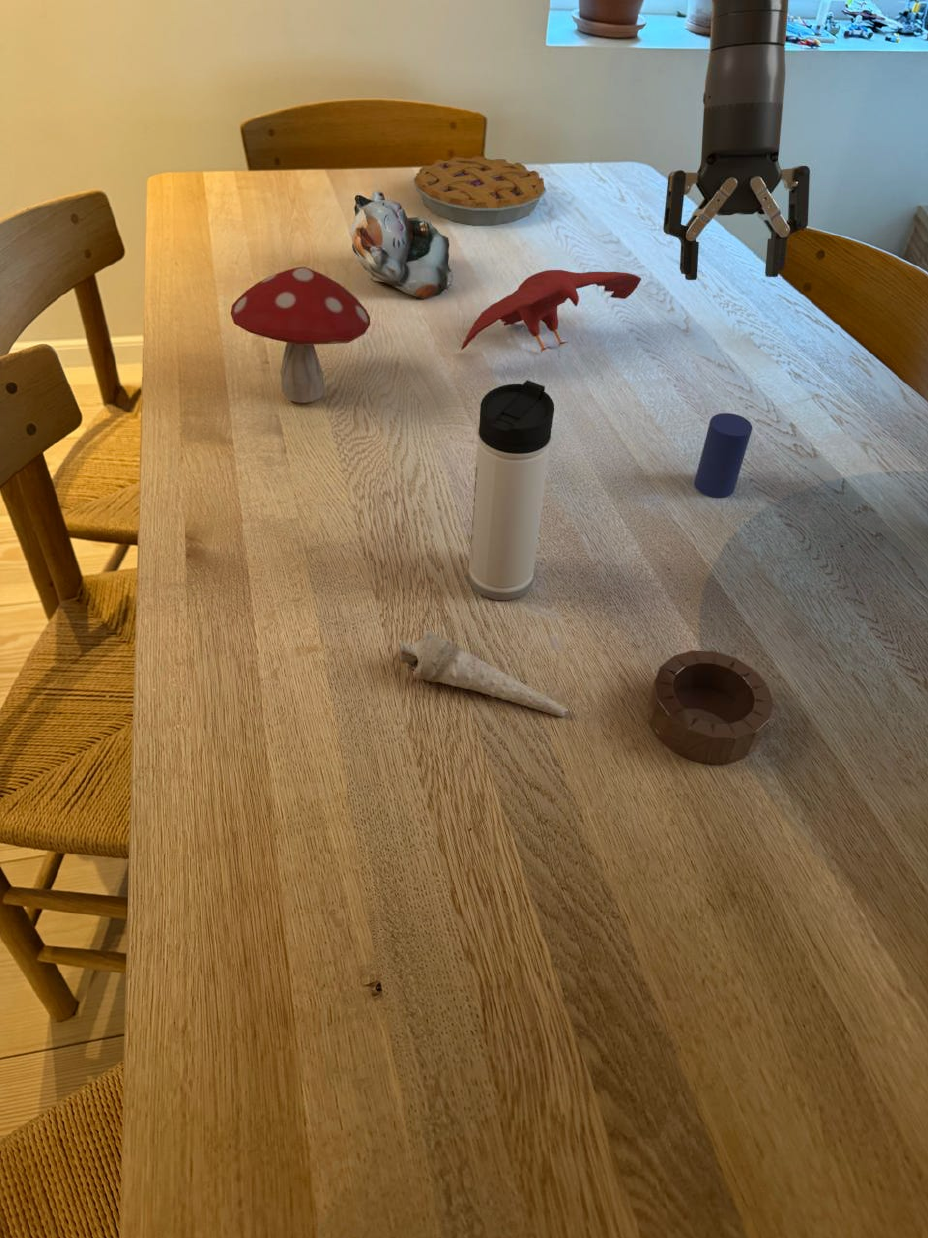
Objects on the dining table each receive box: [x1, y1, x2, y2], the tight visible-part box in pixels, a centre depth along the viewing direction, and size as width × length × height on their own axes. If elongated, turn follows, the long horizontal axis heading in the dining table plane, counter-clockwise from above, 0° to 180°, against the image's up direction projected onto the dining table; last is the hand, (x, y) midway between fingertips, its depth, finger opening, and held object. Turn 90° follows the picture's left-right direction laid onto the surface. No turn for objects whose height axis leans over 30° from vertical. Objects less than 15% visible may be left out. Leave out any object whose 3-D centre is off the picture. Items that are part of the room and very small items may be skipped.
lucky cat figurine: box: [349, 190, 454, 300], centre depth 135 cm, size 15×12×14 cm
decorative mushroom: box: [230, 266, 371, 404], centre depth 111 cm, size 16×16×15 cm
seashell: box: [397, 629, 569, 718], centre depth 81 cm, size 4×16×4 cm, turn 71°
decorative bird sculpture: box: [460, 269, 642, 353], centre depth 125 cm, size 28×9×15 cm
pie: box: [412, 155, 547, 226], centre depth 160 cm, size 22×22×5 cm
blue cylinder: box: [694, 412, 753, 499], centre depth 103 cm, size 4×4×8 cm
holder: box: [647, 650, 774, 766], centre depth 80 cm, size 10×10×4 cm
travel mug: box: [467, 380, 555, 601], centre depth 86 cm, size 6×7×20 cm
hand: (731, 278), depth 100 cm, fingers open, 8 cm apart
